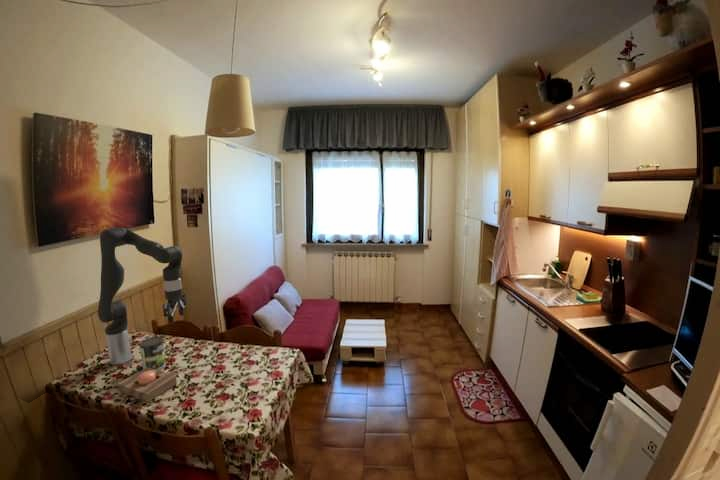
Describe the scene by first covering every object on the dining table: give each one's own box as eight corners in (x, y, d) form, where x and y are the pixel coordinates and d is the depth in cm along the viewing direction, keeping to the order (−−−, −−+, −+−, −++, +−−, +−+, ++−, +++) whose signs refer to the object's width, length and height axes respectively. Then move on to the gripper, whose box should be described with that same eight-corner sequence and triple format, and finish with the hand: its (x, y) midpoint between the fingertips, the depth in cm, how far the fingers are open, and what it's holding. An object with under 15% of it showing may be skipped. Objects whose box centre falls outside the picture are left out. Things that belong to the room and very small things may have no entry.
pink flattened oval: (135, 386, 145) (134, 377, 144) (149, 377, 151) (148, 369, 150) (145, 389, 142) (144, 380, 141) (159, 380, 148) (158, 372, 148)
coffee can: (170, 361, 168) (167, 337, 165) (154, 372, 158) (151, 347, 155) (154, 359, 170) (151, 335, 167) (137, 370, 160) (133, 345, 157)
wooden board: (118, 391, 144) (117, 383, 143) (148, 374, 157) (147, 366, 156) (148, 402, 137) (146, 394, 136) (176, 383, 150) (175, 375, 149)
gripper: (174, 282, 156) (177, 312, 159) (155, 293, 142) (159, 325, 145) (189, 283, 156) (192, 313, 159) (171, 293, 142) (175, 326, 145)
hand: (176, 319), depth 152 cm, fingers open, 8 cm apart
